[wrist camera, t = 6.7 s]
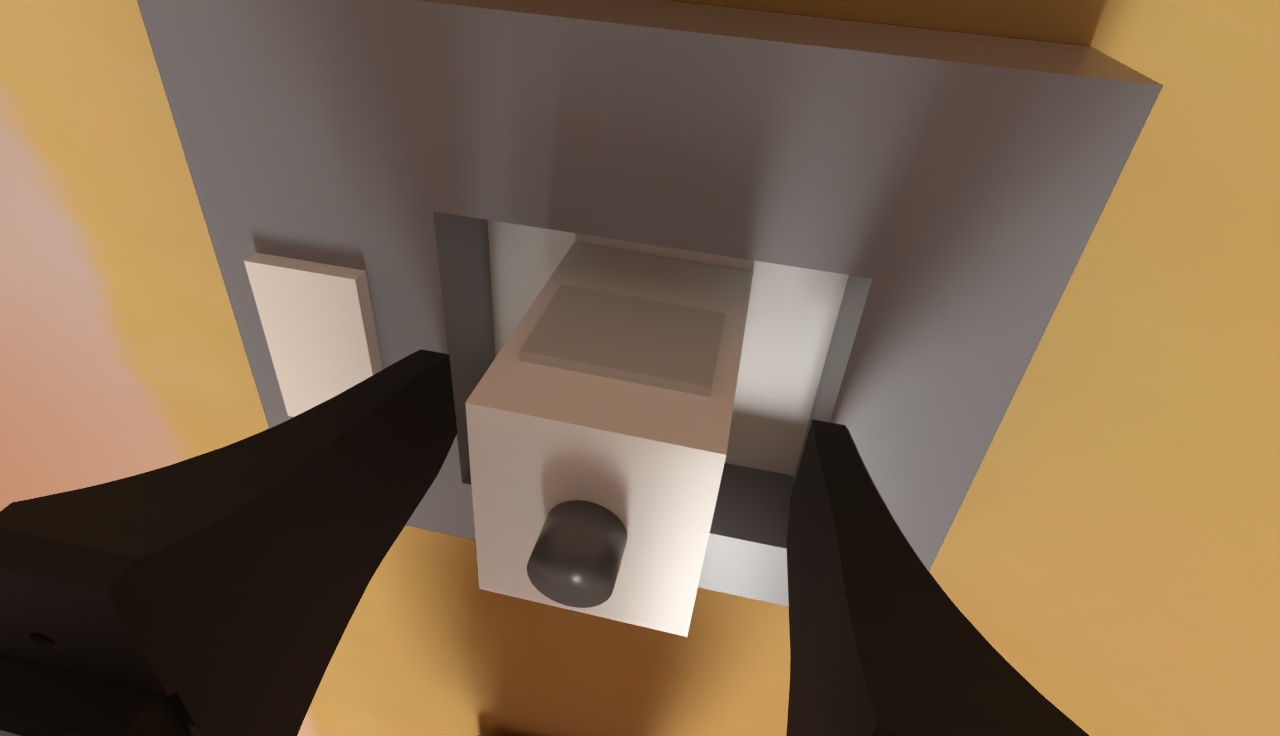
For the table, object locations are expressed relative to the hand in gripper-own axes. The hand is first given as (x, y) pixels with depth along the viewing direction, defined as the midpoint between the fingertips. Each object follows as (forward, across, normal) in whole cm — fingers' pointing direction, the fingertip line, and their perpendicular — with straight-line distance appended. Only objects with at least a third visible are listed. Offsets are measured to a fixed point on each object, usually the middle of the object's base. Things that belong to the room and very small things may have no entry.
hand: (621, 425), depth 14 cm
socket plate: (+4, +1, 0) cm, 4 cm away
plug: (+3, 0, 0) cm, 3 cm away
